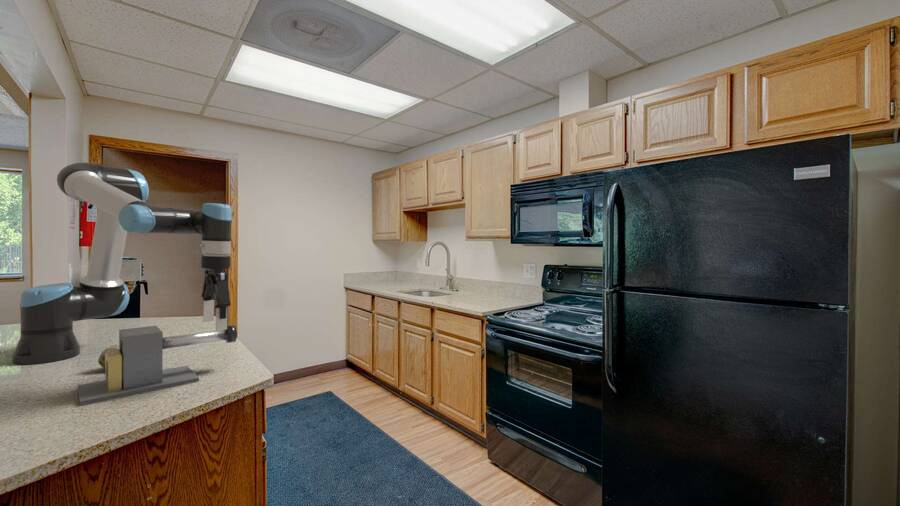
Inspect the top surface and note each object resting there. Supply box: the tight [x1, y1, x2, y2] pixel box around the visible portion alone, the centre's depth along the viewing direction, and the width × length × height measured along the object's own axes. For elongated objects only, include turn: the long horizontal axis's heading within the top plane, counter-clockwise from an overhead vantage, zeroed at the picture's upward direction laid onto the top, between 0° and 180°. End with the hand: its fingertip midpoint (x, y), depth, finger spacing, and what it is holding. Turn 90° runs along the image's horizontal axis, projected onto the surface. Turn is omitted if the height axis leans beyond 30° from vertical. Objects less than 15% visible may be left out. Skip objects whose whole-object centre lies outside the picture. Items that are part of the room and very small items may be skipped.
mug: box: [97, 344, 119, 369], centre depth 116 cm, size 8×10×10 cm
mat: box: [77, 365, 200, 406], centre depth 104 cm, size 14×24×1 cm, turn 136°
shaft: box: [163, 324, 238, 350], centre depth 111 cm, size 5×24×5 cm, turn 136°
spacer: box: [104, 348, 122, 393], centre depth 100 cm, size 9×2×9 cm, turn 45°
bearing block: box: [118, 325, 164, 390], centre depth 104 cm, size 10×8×15 cm
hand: (214, 325), depth 116 cm, fingers open, 13 cm apart
